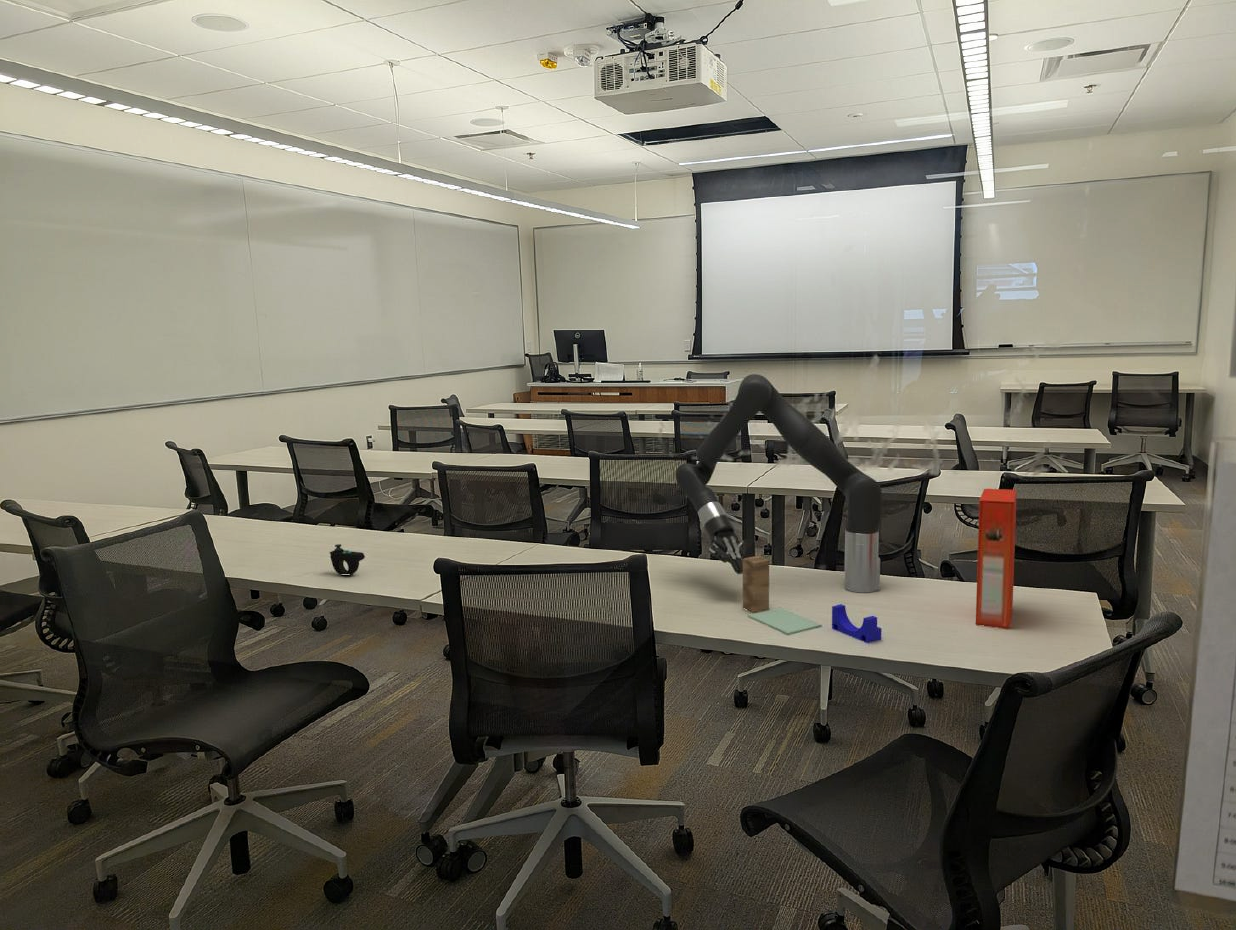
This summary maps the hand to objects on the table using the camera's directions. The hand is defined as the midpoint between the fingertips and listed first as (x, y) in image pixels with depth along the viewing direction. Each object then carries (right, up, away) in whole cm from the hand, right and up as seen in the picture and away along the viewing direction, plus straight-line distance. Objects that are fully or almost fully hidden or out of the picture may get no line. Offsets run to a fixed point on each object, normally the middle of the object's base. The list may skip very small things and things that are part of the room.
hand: (741, 572), depth 222 cm
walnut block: (+3, -9, -4) cm, 11 cm away
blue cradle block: (+25, -12, -24) cm, 36 cm away
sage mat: (+9, -11, -14) cm, 20 cm away
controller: (-122, -7, +39) cm, 128 cm away
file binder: (+63, -10, -14) cm, 65 cm away
